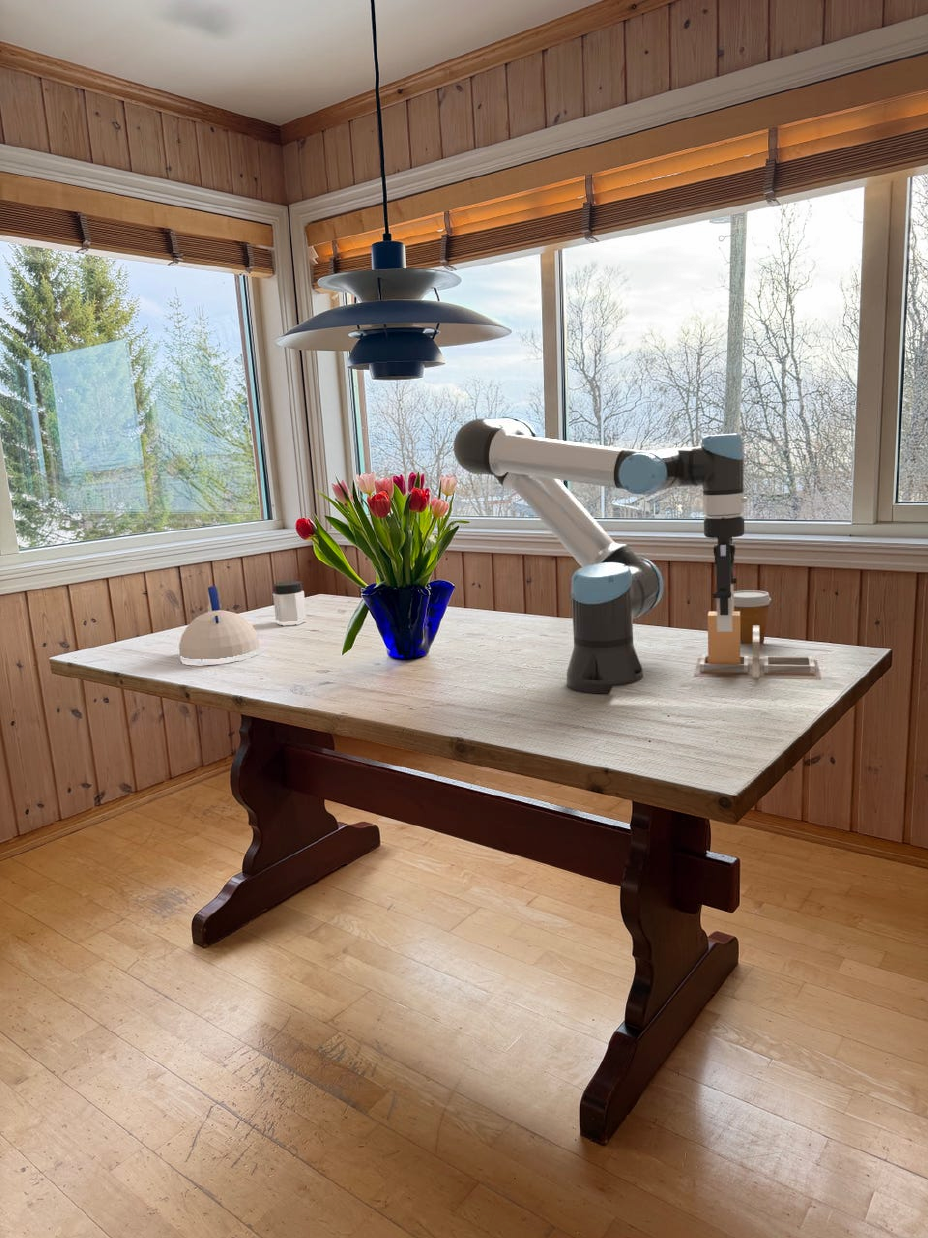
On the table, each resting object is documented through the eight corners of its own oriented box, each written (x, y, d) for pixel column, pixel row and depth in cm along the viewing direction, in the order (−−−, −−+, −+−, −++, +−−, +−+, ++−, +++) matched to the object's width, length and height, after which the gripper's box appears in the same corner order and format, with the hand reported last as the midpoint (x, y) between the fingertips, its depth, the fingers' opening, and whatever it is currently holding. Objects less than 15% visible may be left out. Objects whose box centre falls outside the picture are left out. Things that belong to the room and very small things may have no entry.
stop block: (740, 670, 170) (739, 615, 168) (708, 669, 172) (707, 615, 170) (740, 664, 174) (740, 611, 172) (709, 664, 176) (708, 611, 174)
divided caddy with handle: (821, 686, 162) (821, 642, 160) (693, 683, 169) (693, 641, 167) (816, 666, 174) (817, 625, 173) (698, 664, 182) (697, 625, 180)
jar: (272, 623, 257) (268, 583, 254) (297, 619, 262) (293, 579, 259) (285, 627, 250) (280, 586, 247) (311, 622, 254) (306, 582, 252)
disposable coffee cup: (773, 651, 188) (774, 597, 186) (728, 652, 190) (727, 598, 188) (767, 640, 197) (768, 589, 195) (724, 641, 199) (724, 590, 197)
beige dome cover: (257, 642, 234) (249, 576, 230) (265, 659, 214) (256, 587, 211) (179, 653, 228) (169, 585, 224) (179, 671, 208) (169, 597, 204)
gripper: (743, 521, 154) (745, 638, 158) (745, 508, 177) (746, 610, 182) (699, 523, 157) (702, 638, 161) (707, 510, 180) (709, 610, 184)
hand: (725, 623), depth 171 cm, fingers open, 13 cm apart
